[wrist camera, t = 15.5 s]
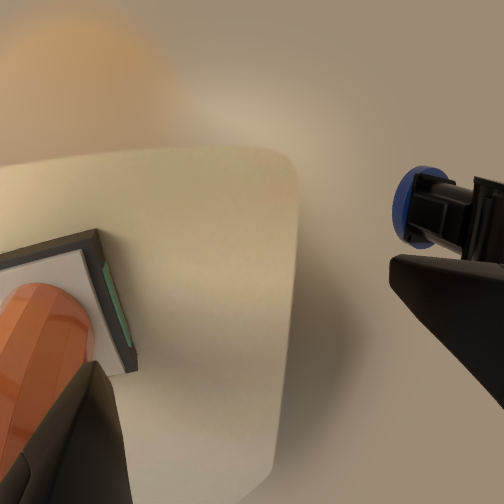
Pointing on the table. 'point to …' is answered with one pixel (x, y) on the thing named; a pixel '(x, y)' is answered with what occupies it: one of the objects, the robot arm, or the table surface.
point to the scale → (77, 290)
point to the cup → (37, 359)
